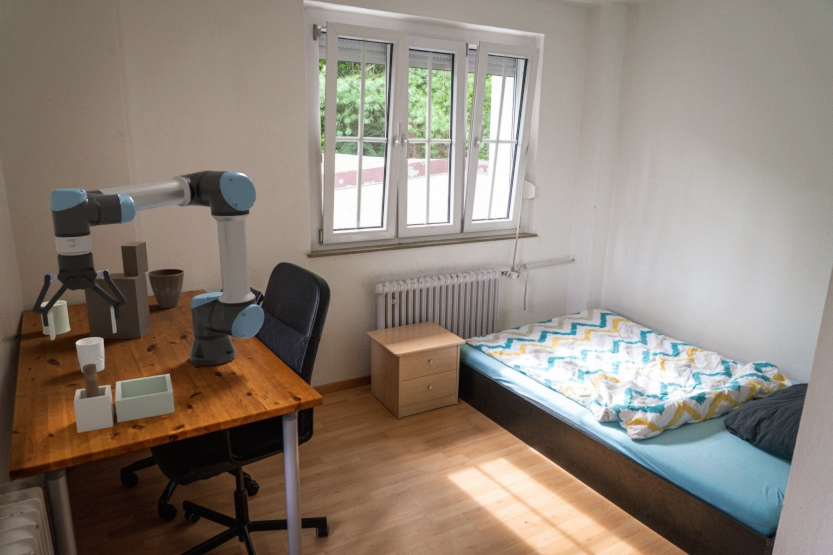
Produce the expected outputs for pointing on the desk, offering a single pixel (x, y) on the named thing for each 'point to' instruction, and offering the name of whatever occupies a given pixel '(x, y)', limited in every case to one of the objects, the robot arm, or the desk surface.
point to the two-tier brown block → (133, 289)
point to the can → (58, 318)
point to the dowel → (91, 380)
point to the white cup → (91, 352)
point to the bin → (144, 397)
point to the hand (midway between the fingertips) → (84, 334)
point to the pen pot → (94, 410)
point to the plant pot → (167, 286)
